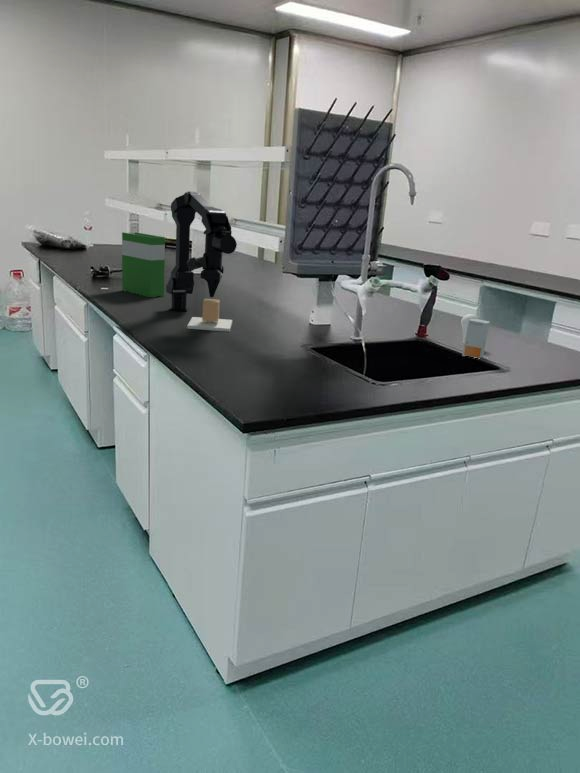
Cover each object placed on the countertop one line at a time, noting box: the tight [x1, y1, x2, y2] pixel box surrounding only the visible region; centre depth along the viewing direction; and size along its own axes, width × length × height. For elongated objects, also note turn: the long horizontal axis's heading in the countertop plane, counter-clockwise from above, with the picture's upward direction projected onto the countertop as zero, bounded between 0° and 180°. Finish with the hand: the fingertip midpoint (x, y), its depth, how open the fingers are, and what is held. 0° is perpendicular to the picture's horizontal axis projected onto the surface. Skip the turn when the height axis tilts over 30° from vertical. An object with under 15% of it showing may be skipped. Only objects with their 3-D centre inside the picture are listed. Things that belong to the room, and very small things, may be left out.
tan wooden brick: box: [201, 298, 221, 322], centre depth 202 cm, size 5×5×7 cm
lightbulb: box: [460, 313, 480, 344], centre depth 206 cm, size 6×6×11 cm
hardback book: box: [121, 231, 166, 298], centre depth 246 cm, size 18×7×24 cm, turn 53°
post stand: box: [186, 316, 233, 333], centre depth 202 cm, size 14×14×8 cm
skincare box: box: [461, 318, 491, 359], centre depth 190 cm, size 6×4×12 cm
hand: (211, 297), depth 200 cm, fingers closed
